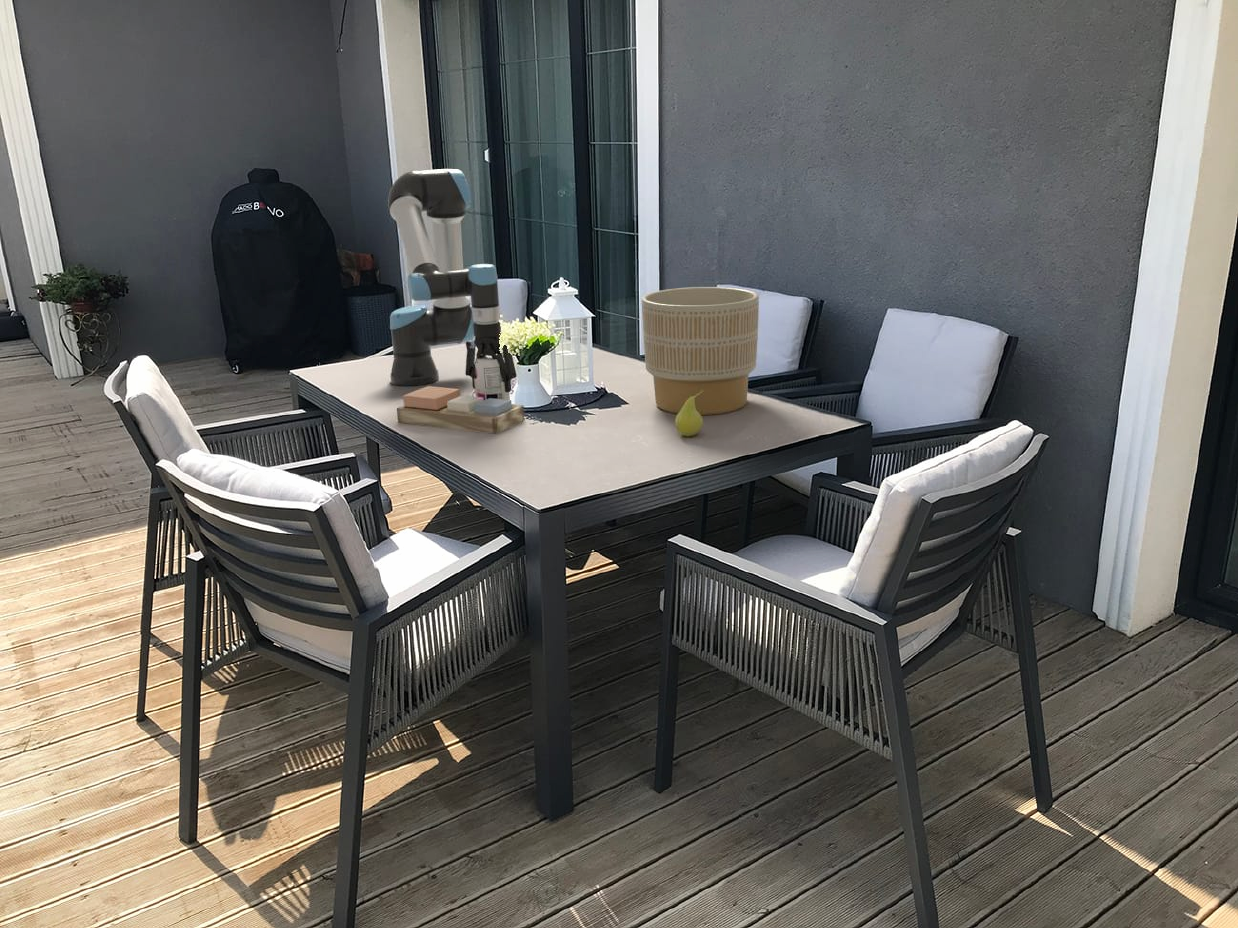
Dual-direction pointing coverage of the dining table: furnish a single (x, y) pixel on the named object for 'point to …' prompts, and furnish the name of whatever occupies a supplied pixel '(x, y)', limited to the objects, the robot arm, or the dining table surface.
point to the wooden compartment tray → (462, 419)
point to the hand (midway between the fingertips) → (492, 401)
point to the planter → (701, 346)
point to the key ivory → (463, 403)
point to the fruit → (689, 418)
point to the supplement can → (488, 378)
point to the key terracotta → (430, 398)
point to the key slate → (493, 406)
